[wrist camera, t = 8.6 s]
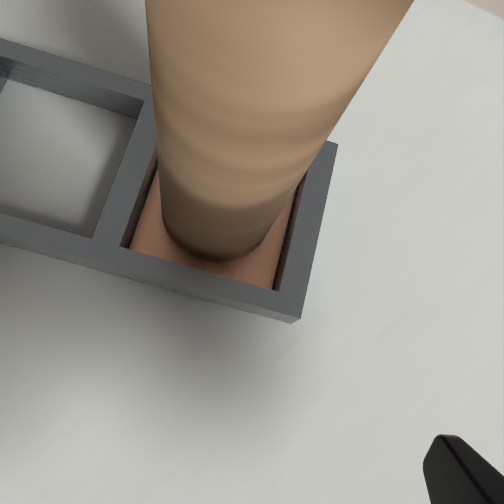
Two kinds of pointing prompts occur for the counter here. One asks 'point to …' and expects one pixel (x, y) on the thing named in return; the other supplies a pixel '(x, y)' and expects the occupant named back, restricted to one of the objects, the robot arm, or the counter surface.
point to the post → (250, 106)
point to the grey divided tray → (151, 223)
